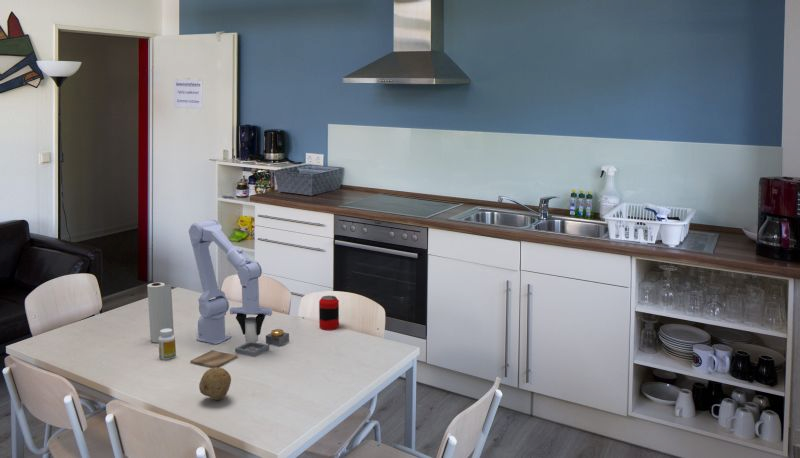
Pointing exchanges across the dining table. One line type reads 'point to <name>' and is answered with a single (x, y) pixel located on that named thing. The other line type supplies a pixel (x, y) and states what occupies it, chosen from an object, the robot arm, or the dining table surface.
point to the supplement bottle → (167, 344)
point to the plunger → (277, 332)
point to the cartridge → (250, 330)
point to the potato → (215, 383)
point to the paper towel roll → (159, 309)
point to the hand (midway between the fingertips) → (251, 334)
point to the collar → (243, 350)
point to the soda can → (329, 313)
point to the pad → (213, 359)
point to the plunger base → (277, 339)
